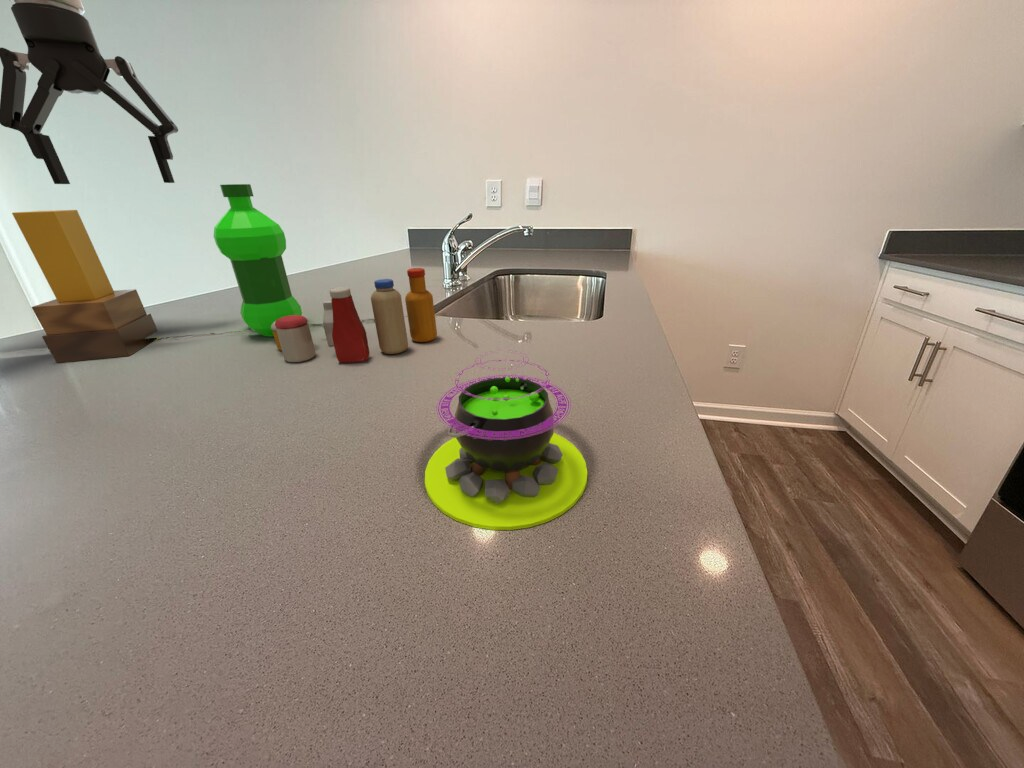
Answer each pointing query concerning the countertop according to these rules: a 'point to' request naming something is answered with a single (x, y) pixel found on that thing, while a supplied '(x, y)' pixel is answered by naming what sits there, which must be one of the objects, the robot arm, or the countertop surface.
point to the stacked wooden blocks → (96, 327)
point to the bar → (65, 254)
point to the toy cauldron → (505, 455)
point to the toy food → (348, 328)
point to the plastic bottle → (255, 260)
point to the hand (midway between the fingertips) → (118, 183)
